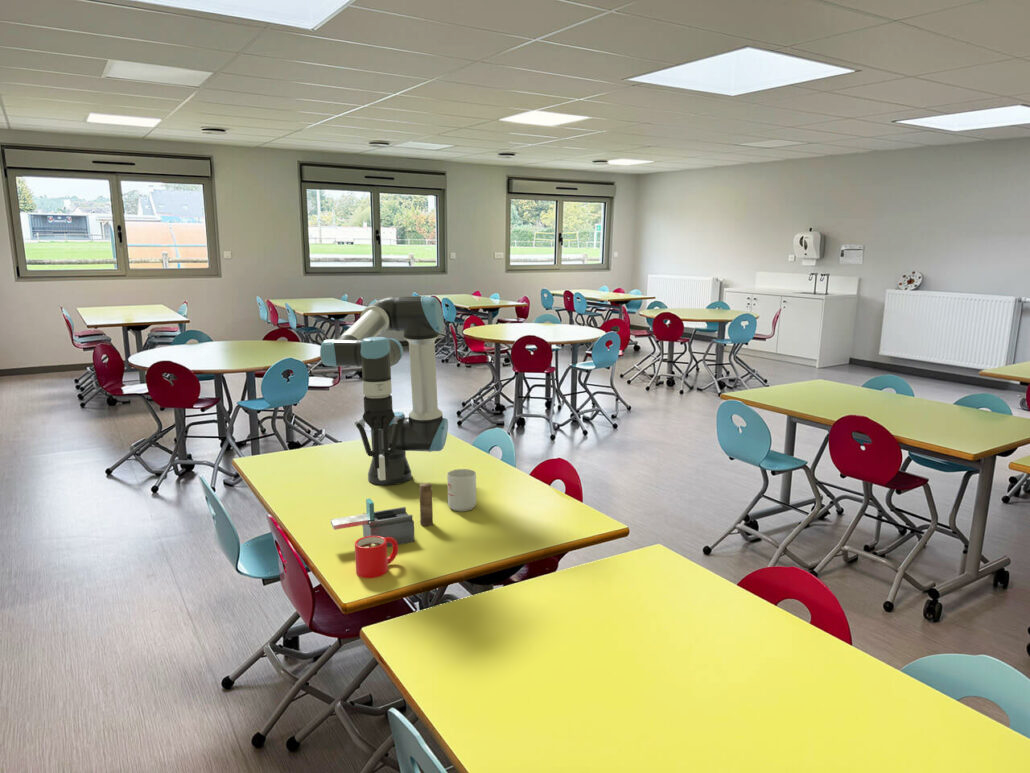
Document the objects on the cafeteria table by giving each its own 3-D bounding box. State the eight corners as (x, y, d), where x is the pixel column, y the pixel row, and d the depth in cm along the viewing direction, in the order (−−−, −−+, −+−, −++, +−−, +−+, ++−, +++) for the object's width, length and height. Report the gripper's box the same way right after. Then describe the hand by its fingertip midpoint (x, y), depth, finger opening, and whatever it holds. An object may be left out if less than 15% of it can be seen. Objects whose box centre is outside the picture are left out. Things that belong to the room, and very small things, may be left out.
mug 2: (481, 508, 219) (481, 474, 217) (457, 514, 214) (457, 479, 212) (461, 497, 228) (460, 464, 226) (437, 503, 223) (436, 470, 221)
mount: (363, 536, 198) (362, 511, 196) (404, 528, 203) (403, 505, 201) (371, 549, 189) (370, 524, 188) (414, 541, 194) (413, 517, 192)
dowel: (419, 522, 207) (417, 484, 205) (430, 520, 209) (429, 482, 207) (422, 527, 204) (421, 487, 202) (434, 525, 206) (433, 486, 203)
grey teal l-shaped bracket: (330, 523, 191) (329, 504, 189) (370, 517, 195) (369, 498, 194) (334, 529, 186) (332, 509, 185) (374, 523, 191) (374, 503, 190)
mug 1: (407, 565, 180) (406, 536, 178) (368, 581, 171) (367, 551, 169) (388, 556, 185) (387, 528, 183) (349, 571, 176) (348, 542, 175)
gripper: (356, 400, 181) (361, 486, 186) (405, 395, 187) (408, 479, 192) (350, 394, 188) (355, 478, 193) (397, 390, 193) (401, 471, 198)
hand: (381, 478), depth 192 cm, fingers closed
